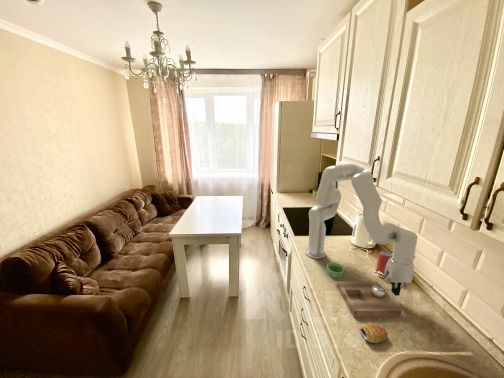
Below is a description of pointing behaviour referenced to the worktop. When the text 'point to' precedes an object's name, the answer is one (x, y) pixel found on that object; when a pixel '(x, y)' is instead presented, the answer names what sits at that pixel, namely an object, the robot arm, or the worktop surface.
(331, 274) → the ramekin
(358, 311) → the wooden board with recess
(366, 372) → the worktop surface
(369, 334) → the pastry
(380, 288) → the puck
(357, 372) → the worktop surface
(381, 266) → the beer can
